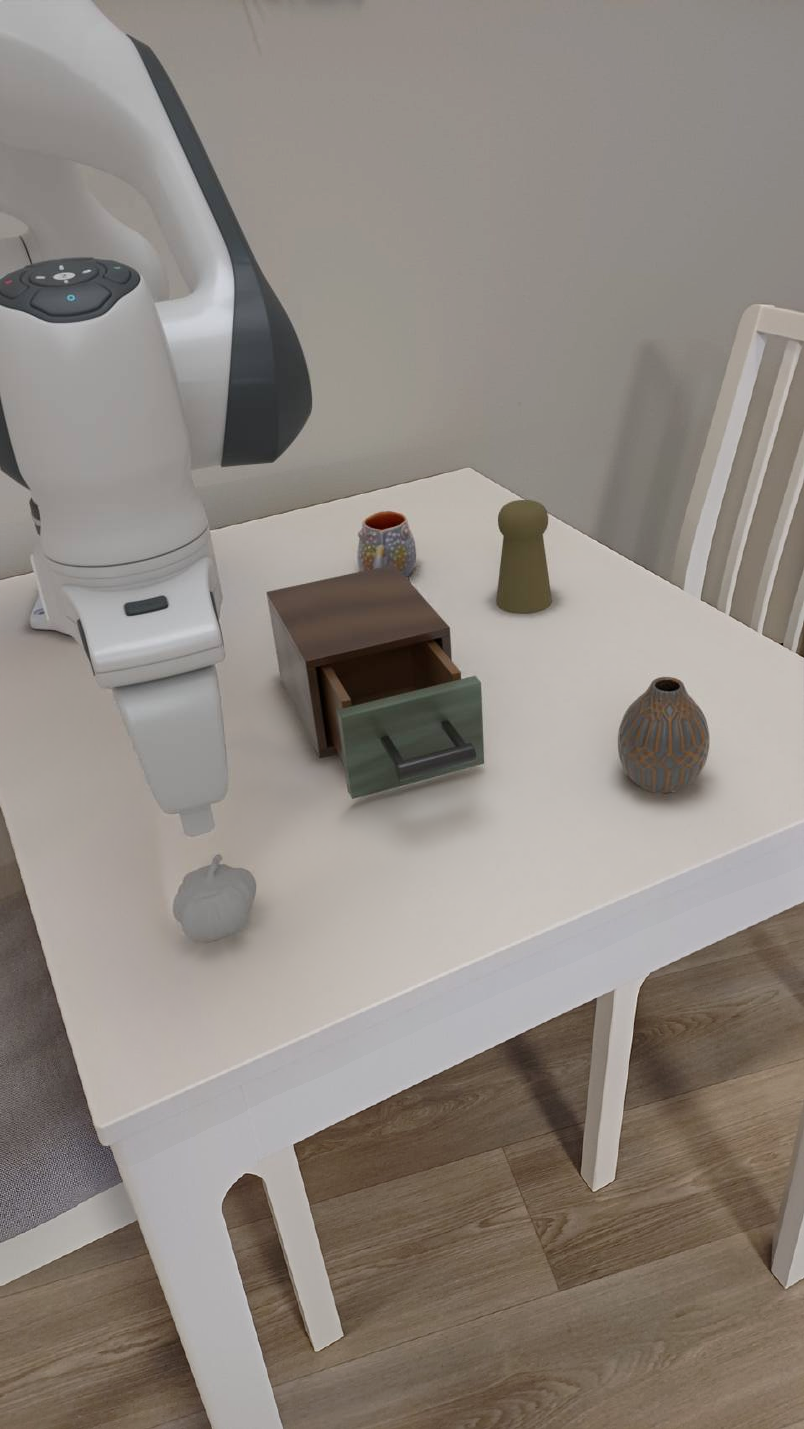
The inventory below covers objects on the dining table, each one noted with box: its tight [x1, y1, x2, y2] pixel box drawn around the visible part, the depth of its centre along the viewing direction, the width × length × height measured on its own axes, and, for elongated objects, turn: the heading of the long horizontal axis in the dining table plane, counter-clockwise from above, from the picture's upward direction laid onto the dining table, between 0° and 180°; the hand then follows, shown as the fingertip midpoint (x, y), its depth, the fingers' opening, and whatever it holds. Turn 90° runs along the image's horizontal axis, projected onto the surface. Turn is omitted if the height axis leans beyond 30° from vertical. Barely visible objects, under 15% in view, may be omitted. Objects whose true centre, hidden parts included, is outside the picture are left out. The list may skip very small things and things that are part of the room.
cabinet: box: [266, 565, 453, 759], centre depth 90 cm, size 15×13×10 cm
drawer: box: [316, 639, 485, 800], centre depth 81 cm, size 19×11×8 cm, turn 19°
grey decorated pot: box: [356, 510, 417, 578], centre depth 113 cm, size 12×7×7 cm, turn 171°
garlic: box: [172, 853, 257, 944], centre depth 68 cm, size 6×5×5 cm
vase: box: [617, 676, 711, 794], centre depth 77 cm, size 7×7×9 cm
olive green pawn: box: [495, 499, 553, 614], centre depth 105 cm, size 6×6×11 cm
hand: (187, 784), depth 62 cm, fingers open, 8 cm apart
